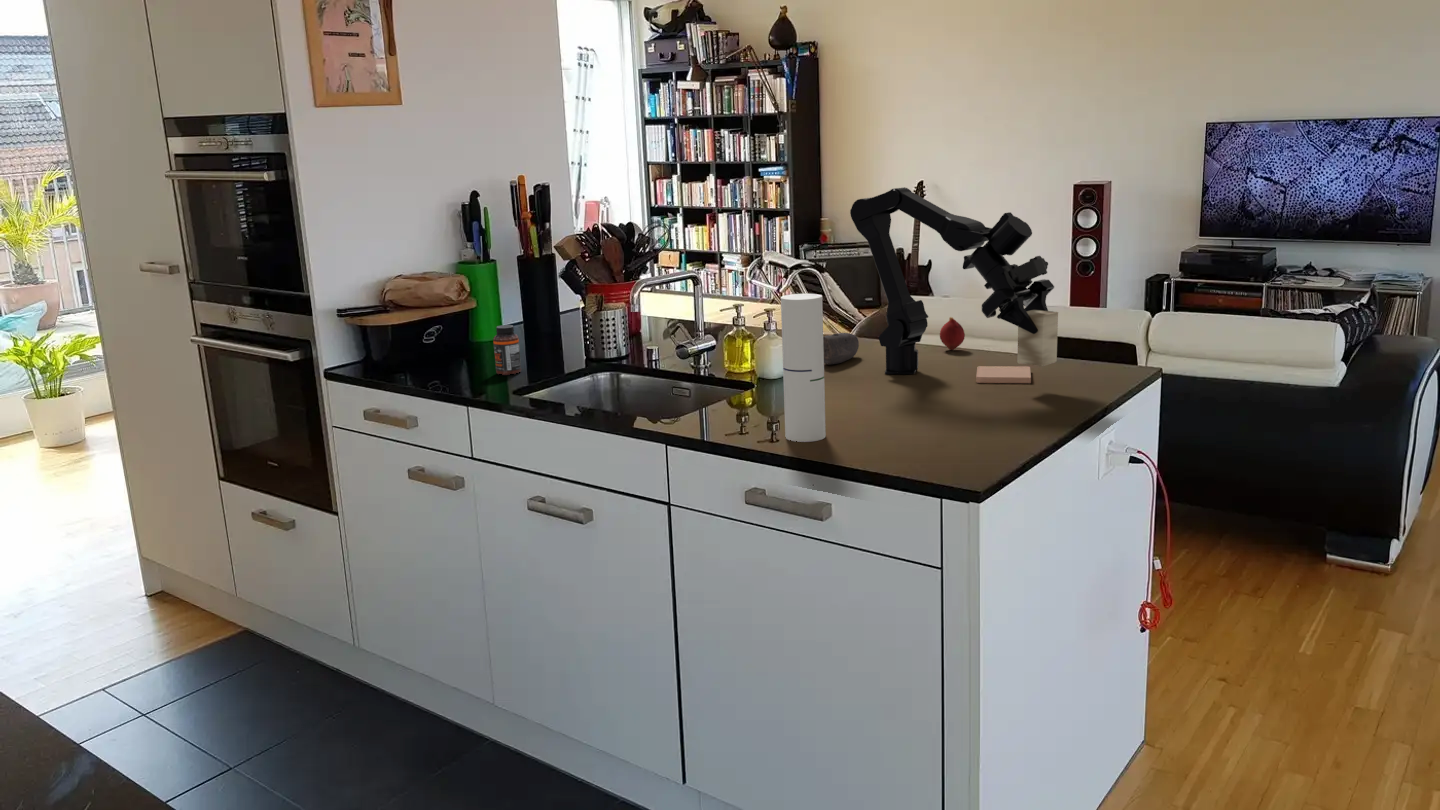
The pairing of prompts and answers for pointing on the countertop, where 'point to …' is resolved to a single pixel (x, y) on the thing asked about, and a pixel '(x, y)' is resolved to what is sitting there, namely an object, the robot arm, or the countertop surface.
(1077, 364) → the countertop surface
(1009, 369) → the terracotta tile
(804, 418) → the cylindrical container
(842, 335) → the perforated stone tool
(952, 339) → the onion
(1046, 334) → the birch block
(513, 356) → the supplement bottle
